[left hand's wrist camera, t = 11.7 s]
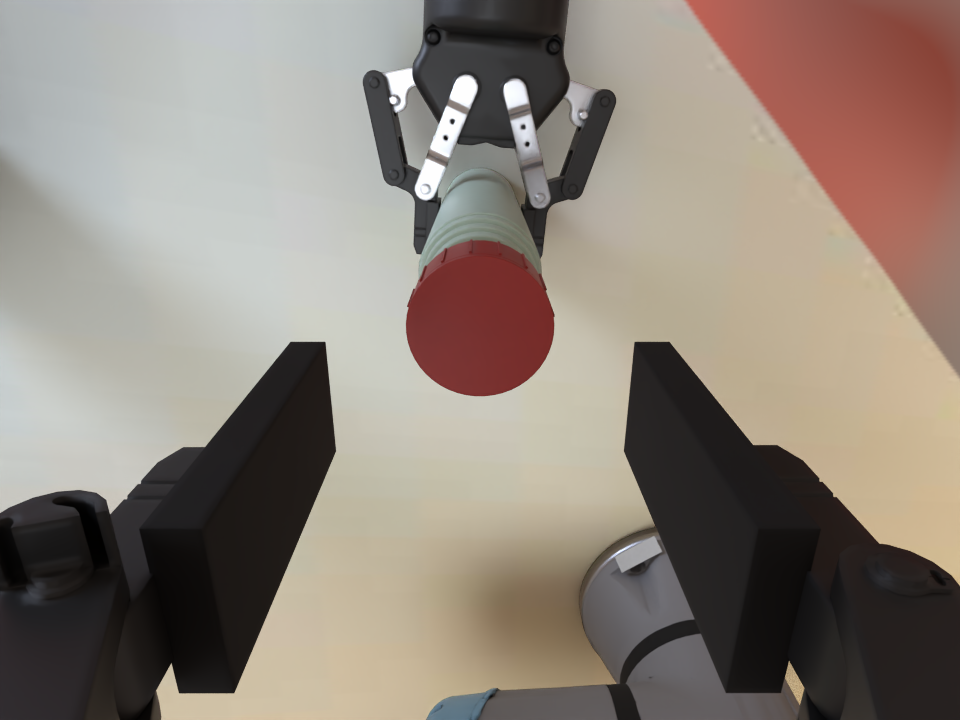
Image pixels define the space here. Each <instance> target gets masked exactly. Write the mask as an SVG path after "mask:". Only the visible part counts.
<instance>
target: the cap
mask: <svg viewBox="0 0 960 720" xmlns="http://www.w3.org/2000/svg"><path fill="white" fill-rule="evenodd" d="M546 290H547V289H546V286H545V283H544V281H543V278H542V275H541V273H540V274H538V272H537V270H536V269H535V267H534V266H533V265H532V263H531V262H530V261H529V260H528V259H527V258H526V257H525V255H524V254H523V253H522V254H521V253H519V252H518V251H516V250H515V249H513V248H511V247H509V246H506V245H504V244H501V243H500V242H499V241H498V242H494V241H487V240H474V241H473V239H470V241H467V242H463V243H459V244H456V245H454V246H451V247H449V248H444V250H443V251H442V252H441V253H440V254H438V255H437V256H436V257H435V258H434V259H433V260H432V261H431V262H430V263H429V264H428V265H427V266H426V265H425V266H424V268H423V271H422V274H421V276H420V278H419V280H418V283H417V285H416V288H415V289H413V292H412V294H411V297H410V300H409V302H408V305H407V307H409V308H408V313H407V319H406V334H407V339H408V344H409V347H410V350H411V352H412V354H413V356H414V359H415V360H416V362H417V363H418V365H419V366H420V368H421V369H422V370H423V371H424V372H425V373H426V374H427V375H428V376H429V377H430V378H431V379H432V380H434V381H435V382H436V383H438V384H439V385H441V386H443V387H445V388H447V389H449V390H451V391H454V392H456V393H460V394H464V395H470V396H490V395H496V394H500V393H504V392H506V391H509V390H512V389H514V388H516V387H518V386H519V385H521V384H522V383H524V382H525V381H527V380H528V379H529V378H530V377H531V376H533V375H534V374H535V372H536V371H537V370H538V369H539V368H540V367H541V365H542V364H543V362H544V361H545V359H546V357H547V355H548V353H549V350H550V348H551V345H552V341H553V335H554V317H555V316H554V312H553V309H552V307H551V304H550V301H549V298H548V296H547V293H546Z"/></svg>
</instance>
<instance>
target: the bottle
mask: <svg viewBox="0 0 960 720" xmlns="http://www.w3.org/2000/svg"><path fill="white" fill-rule="evenodd" d="M470 239H473V241H474V240H487V241H494V242H498V241H499V242H500V243H501V244H504V245H506V246H509V247H511V248H513V249H515V250H516V251H518V252H519V253H521V254H522V253H523V254H524V255H525V257H526V258H527V259H528V260H529V261H530V262H531V263H532V265H533V266H534V267H535V269H536V270H537V272H538V274H540V273H541V275H542V269H541V261H540V257H539V253H538V251H537V248H536V246H535V243H534V241H533V238H532V236H531V233H530V231H529V228H528V226H527V224H526V221H525V219H524V216H523V214H522V211H521V209H520V206H519V204H518V201H517V199H516V197H515V194H514V192H513V189H512V187H511V185H510V184H509V182H508V181H507V180H506V179H505V178H504V177H503V176H502V175H500V174H499V173H497V172H495V171H493V170H490V169H486V168H475V169H470V170H467V171H465V172H463V173H461V174H460V175H459V176H457V177H456V178H455V179H454V180H453V182H452V183H451V184H450V186H449V188H448V190H447V192H446V195H445V197H444V200H443V202H442V205H441V207H440V210H439V212H438V215H437V217H436V219H435V222H434V224H433V227H432V229H431V232H430V234H429V237H428V239H427V242H426V244H425V246H424V249H423V252H422V254H421V258H420V262H419V278H420V276H421V274H422V271H423V268H424V266H425V265H426V266H427V265H428V264H429V263H430V262H431V261H432V260H433V259H434V258H435V257H436V256H437V255H438V254H440V253H441V252H442V251H443V250H444V248H449V247H451V246H454V245H456V244H459V243H463V242H467V241H470Z"/></svg>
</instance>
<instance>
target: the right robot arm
mask: <svg viewBox="0 0 960 720" xmlns="http://www.w3.org/2000/svg"><path fill="white" fill-rule="evenodd" d="M568 5H569V0H424V25H423V41H422V46H421V49H420V51H419V54H418V55H417V57H416V59H415V61H414V63H413V67H411V68H405V69H400V70H395V71H389V72H384V73H381V72H379V71H376V70H372V71H369V72H367V73H366V74H365V76H364V78H363V86H364V91H365V95H366V100H367V104H368V109H369V114H370V118H371V123H372V127H373V132H374V136H375V141H376V145H377V150H378V155H379V159H380V164H381V168H382V173H383V177H384V180H385V181H386V183H388V184H389V185H391V186H397V187H399V188H401V189H403V190H406V191H407V192H409V193H410V194H411V195H412V196H413V198H414V200H415V221H414V248H415V250H416V253H417V254H422V252H423V249H424V246H425V244H426V242H427V239H428V237H429V234H430V232H431V229H432V227H433V224H434V222H435V219H436V217H437V215H438V212H439V210H440V207H441V198H438V188H439V185H440V183H441V180H442V178H443V176H444V173H445V171H446V168H447V166H448V163H449V161H450V159H451V156H452V154H453V151H454V149H455V147H456V144H457V143H458V144H463V145H475V144H480V143H485V142H487V143H490V144H493V145H495V146H498V147H502V148H515V152H516V156H517V160H518V164H519V167H520V171H521V175H522V179H523V183H524V187H525V191H526V198H525V204H521V211H522V214H523V216H524V219H525V221H526V224H527V226H528V228H529V231H530V233H531V236H532V238H533V241H534V243H535V246H536V248H537V251H538V253H539V257H540V258H541V256H542V253H543V244H544V235H545V226H546V217H547V212H548V210H549V208H550V207H551V206H552V205H553V204H555V203H557V202H561V201H564V200H568V199H570V200H575V199H577V198H579V197H580V196H581V195H582V193H583V190H584V187H585V185H586V182H587V179H588V177H589V174H590V171H591V169H592V166H593V163H594V161H595V158H596V155H597V153H598V150H599V147H600V145H601V142H602V139H603V137H604V134H605V131H606V129H607V126H608V123H609V121H610V118H611V115H612V113H613V110H614V107H615V104H616V97H615V95H614V93H613V92H612V91H610V90H607V89H601V90H597V89H594V88H591V87H589V86H586V85H583V84H580V83H577V82H575V81H572V80H570V77H569V72H568V70H567V67H566V65H565V60H564V41H565V32H566V23H567V14H568ZM415 86H416V87H417V88H418V90H419V92H420V93H421V95H422V97H423V98H424V100H425V102H426V103H427V105H428V107H429V108H430V110H431V112H432V113H433V115H434V117H435V118H436V120H437V122H438V123H439V126H438V128H437V131H436V133H435V136H434V138H433V141H432V143H431V146H430V149H429V151H428V154H427V157H426V160H425V162H424V165H423V167H422V170H418V169H416V168H414V167H412V166H410V165H408V162H407V157H406V152H405V147H404V142H403V137H402V132H401V127H400V123H399V118H398V113H397V112H401V111H403V110H404V109H405V108H406V107H407V104H408V93H409V91H410V90H411V89H412V88H413V87H415ZM563 98H565V99H566V100H567V101H568V103H569V105H570V112H569V119H570V121H571V123H572V124H573V125H575V126H577V128H576V131H575V134H574V137H573V140H572V142H571V145H570V148H569V151H568V154H567V156H566V159H565V162H564V165H563V168H562V170H561V173H560V176H559V177H555V178H552V179H548V180H547V179H546V174H545V170H544V166H543V159H542V155H541V150H540V146H539V142H538V138H537V133H536V131H537V129H538V128H539V127H540V126H541V125H542V123H543V122H544V121H545V120H546V118H547V117H548V116H549V115H550V114H551V112H552V111H553V110H554V109H555V108H556V106H557V105H558V104H559V103H560V101H561V100H562V99H563ZM447 136H448V137H447Z"/></svg>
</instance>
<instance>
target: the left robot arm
mask: <svg viewBox="0 0 960 720" xmlns="http://www.w3.org/2000/svg"><path fill="white" fill-rule="evenodd" d="M335 452H336V446H335V436H334V425H333V415H332V405H331V395H330V384H329V374H328V364H327V354H326V343H325V342H290V343H289V345H288V346H287V347H286V348H285V350H284V351H283V352H282V353H281V354H280V356H279V357H278V358H277V359H276V361H275V362H274V363H273V364H272V366H271V367H270V368H269V369H268V370H267V372H266V373H265V374H264V375H263V377H262V378H261V379H260V380H259V382H258V383H257V384H256V385H255V387H254V388H253V389H252V390H251V391H250V393H249V394H248V395H247V396H246V398H245V399H244V400H243V401H242V403H241V404H240V405H239V406H238V407H237V409H236V410H235V411H234V412H233V414H232V415H231V416H230V417H229V419H228V420H227V421H226V422H225V423H224V425H223V426H222V427H221V428H220V430H219V431H218V432H217V433H216V435H215V436H214V437H213V438H212V439H211V441H210V442H209V443H208V444H207V446H206V447H183V448H181V449H180V450H178V451H176V452H175V453H173V454H171V455H170V456H168V457H166V458H165V459H163V460H161V461H160V462H158V463H157V464H156V465H155V466H154V467H153V468H152V469H151V470H150V472H149V473H148V474H147V475H146V476H145V477H144V478H143V479H142V480H141V484H138V485H137V486H136V487H135V488H134V489H133V490H132V491H131V492H130V494H129V495H128V498H127V500H123V501H122V502H121V503H120V504H119V506H118V507H117V508H116V509H115V510H114V511H113V512H112V513H111V514H110V513H109V509H108V505H107V502H106V500H105V499H104V498H103V497H101V496H100V495H99V494H97V493H94V492H88V491H82V490H75V491H62V492H55V493H51V494H47V495H43V496H39V497H35V498H32V499H29V500H27V501H24V502H22V503H19V504H17V505H15V506H12V507H10V508H8V509H6V510H5V511H3V512H2V513H0V720H161V711H160V704H159V700H158V696H157V692H156V690H157V688H158V686H159V684H160V682H161V681H162V679H163V677H164V675H165V673H166V672H167V670H168V668H169V666H170V664H171V663H172V666H173V670H174V675H175V679H176V683H177V687H178V691H179V693H234V692H235V690H236V688H237V685H238V683H239V681H240V678H241V676H242V673H243V671H244V669H245V666H246V664H247V662H248V659H249V657H250V654H251V652H252V650H253V647H254V645H255V643H256V640H257V638H258V635H259V633H260V631H261V628H262V626H263V624H264V621H265V619H266V616H267V614H268V612H269V609H270V607H271V605H272V602H273V600H274V597H275V595H276V593H277V590H278V588H279V586H280V583H281V581H282V578H283V576H284V574H285V571H286V569H287V566H288V564H289V562H290V559H291V557H292V555H293V552H294V550H295V547H296V545H297V543H298V540H299V538H300V536H301V533H302V531H303V528H304V526H305V524H306V521H307V519H308V517H309V514H310V512H311V509H312V507H313V505H314V502H315V500H316V498H317V495H318V493H319V490H320V488H321V486H322V483H323V481H324V479H325V476H326V474H327V471H328V469H329V467H330V464H331V462H332V459H333V457H334V455H335ZM624 452H625V455H626V457H627V459H628V462H629V464H630V467H631V469H632V471H633V474H634V476H635V479H636V481H637V483H638V486H639V488H640V490H641V493H642V495H643V498H644V500H645V502H646V505H647V507H648V509H649V512H650V514H651V517H652V519H653V521H654V524H655V526H656V528H651V529H647V530H643V531H640V532H637V533H635V534H632V535H630V536H628V537H626V538H624V539H622V540H620V541H618V542H617V543H615V544H614V545H612V546H611V547H609V548H608V549H607V550H606V551H604V552H603V553H602V554H601V555H600V556H599V557H598V558H597V559H596V561H595V562H594V563H593V564H592V566H591V567H590V569H589V570H588V572H587V574H586V576H585V578H584V580H583V583H582V586H581V590H580V596H579V605H580V613H581V618H582V623H583V627H584V630H585V633H586V636H587V638H588V640H589V642H590V644H591V645H592V647H593V649H594V650H595V651H596V653H597V654H598V655H599V656H600V658H601V659H602V661H603V663H604V664H605V666H606V667H607V669H608V671H609V672H610V674H611V675H612V677H613V678H614V680H615V681H616V683H617V684H611V685H590V686H575V687H560V688H540V689H520V690H499V689H498V688H493V689H490V690H488V691H486V692H484V693H478V694H469V695H460V696H452V697H448V698H446V699H444V700H442V701H440V702H439V703H438V704H437V705H436V706H435V707H434V708H433V709H432V710H431V712H430V713H429V715H428V717H427V719H426V720H960V586H959V584H958V583H957V582H956V581H955V579H954V578H953V577H952V576H951V575H950V574H949V573H947V572H946V571H945V570H943V569H942V568H940V567H939V566H938V565H936V564H935V563H934V562H932V561H930V560H928V559H926V558H923V557H921V556H919V555H917V554H915V553H913V552H911V551H908V550H904V549H901V548H897V547H894V546H890V545H886V544H879V543H878V542H877V541H876V540H875V539H874V537H873V536H872V535H871V534H870V533H869V532H868V531H867V530H866V529H865V528H864V527H863V525H862V524H861V523H860V522H859V521H858V520H857V519H856V518H855V517H854V516H853V515H852V514H851V512H850V511H849V510H848V509H847V508H846V507H845V506H844V505H843V504H842V503H841V502H840V500H839V499H838V498H837V497H833V493H832V492H831V491H830V490H829V488H828V487H827V486H826V485H825V484H824V483H823V482H820V481H819V478H818V476H817V475H816V474H815V473H814V472H813V471H812V470H811V469H810V468H809V467H808V466H807V464H806V463H805V462H804V461H803V460H801V459H799V458H798V457H796V456H794V455H793V454H791V453H789V452H788V451H786V450H784V449H783V448H781V447H779V446H778V445H753V444H752V443H751V442H750V441H749V439H748V438H747V437H746V436H745V435H744V433H743V432H742V431H741V430H740V428H739V427H738V426H737V425H736V423H735V422H734V421H733V420H732V419H731V417H730V416H729V415H728V414H727V412H726V411H725V410H724V409H723V407H722V406H721V405H720V404H719V403H718V401H717V400H716V399H715V398H714V396H713V395H712V394H711V393H710V391H709V390H708V389H707V388H706V387H705V385H704V384H703V383H702V382H701V380H700V379H699V378H698V377H697V375H696V374H695V373H694V372H693V370H692V369H691V368H690V367H689V366H688V364H687V363H686V362H685V361H684V359H683V358H682V357H681V356H680V354H679V353H678V352H677V351H676V350H675V348H674V347H673V346H672V345H671V343H670V342H635V343H634V354H633V364H632V374H631V384H630V395H629V405H628V415H627V425H626V436H625V446H624ZM789 661H790V663H791V665H792V666H793V668H794V670H795V672H796V674H797V675H798V677H799V679H800V681H801V683H802V684H803V686H804V688H805V689H804V692H803V696H802V700H801V704H800V705H799V703H798V701H797V700H796V698H795V696H794V694H793V692H792V691H791V689H790V687H789V685H788V683H787V681H786V680H785V675H786V670H787V666H788V662H789Z"/></svg>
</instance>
